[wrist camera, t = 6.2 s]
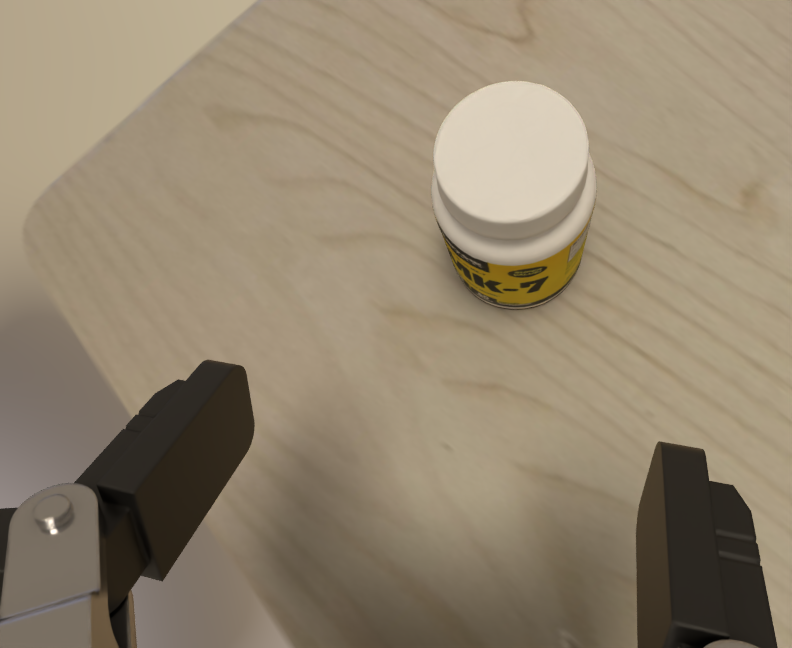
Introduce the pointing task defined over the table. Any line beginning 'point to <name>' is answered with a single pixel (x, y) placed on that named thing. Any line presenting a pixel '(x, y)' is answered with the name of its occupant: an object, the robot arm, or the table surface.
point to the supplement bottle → (514, 192)
